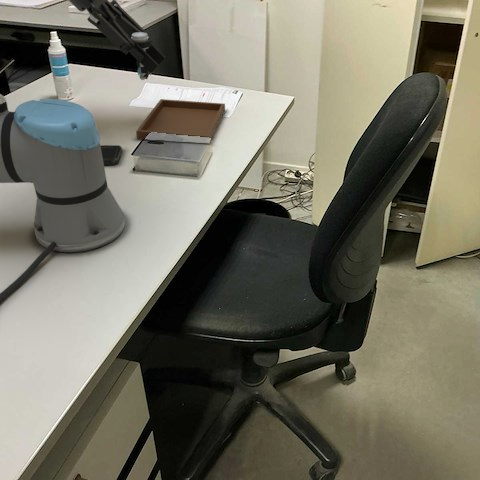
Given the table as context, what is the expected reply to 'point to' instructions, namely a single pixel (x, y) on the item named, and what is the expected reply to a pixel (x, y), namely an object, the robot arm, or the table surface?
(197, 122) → the tray
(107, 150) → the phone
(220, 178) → the table surface
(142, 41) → the push button
